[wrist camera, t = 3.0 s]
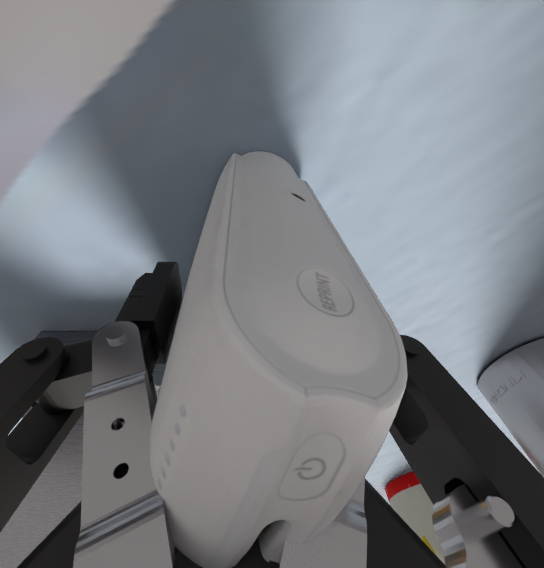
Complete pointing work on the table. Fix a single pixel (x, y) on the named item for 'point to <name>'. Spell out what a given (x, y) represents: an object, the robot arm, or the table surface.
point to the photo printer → (270, 373)
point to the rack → (52, 481)
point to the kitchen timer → (414, 509)
